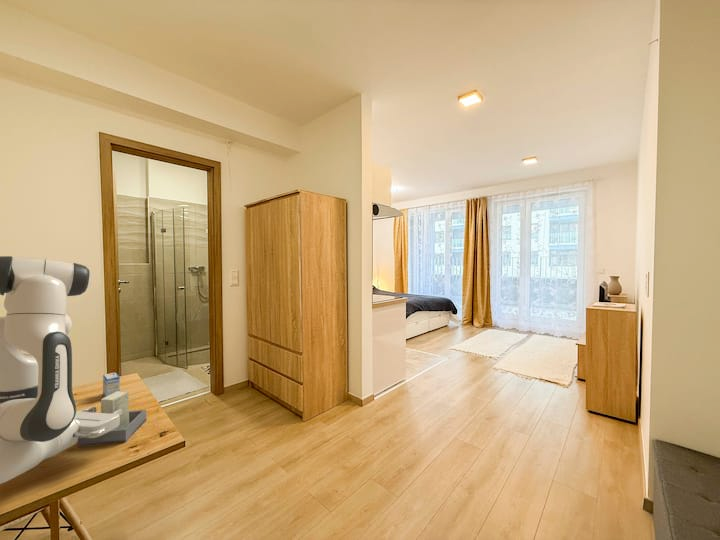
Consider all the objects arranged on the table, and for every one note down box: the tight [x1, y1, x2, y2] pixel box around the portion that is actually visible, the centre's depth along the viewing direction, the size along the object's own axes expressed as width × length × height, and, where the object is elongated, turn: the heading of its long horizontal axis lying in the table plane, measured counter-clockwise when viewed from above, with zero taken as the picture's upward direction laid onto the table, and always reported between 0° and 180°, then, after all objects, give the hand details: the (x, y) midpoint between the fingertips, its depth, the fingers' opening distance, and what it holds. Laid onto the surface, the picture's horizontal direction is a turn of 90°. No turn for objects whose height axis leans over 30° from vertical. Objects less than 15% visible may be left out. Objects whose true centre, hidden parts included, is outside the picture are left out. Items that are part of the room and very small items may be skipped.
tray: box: [77, 409, 147, 448], centre depth 98 cm, size 13×13×4 cm
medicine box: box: [102, 372, 121, 397], centre depth 126 cm, size 8×4×9 cm, turn 50°
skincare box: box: [100, 390, 130, 430], centre depth 98 cm, size 6×4×12 cm
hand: (107, 409), depth 96 cm, fingers open, 8 cm apart
